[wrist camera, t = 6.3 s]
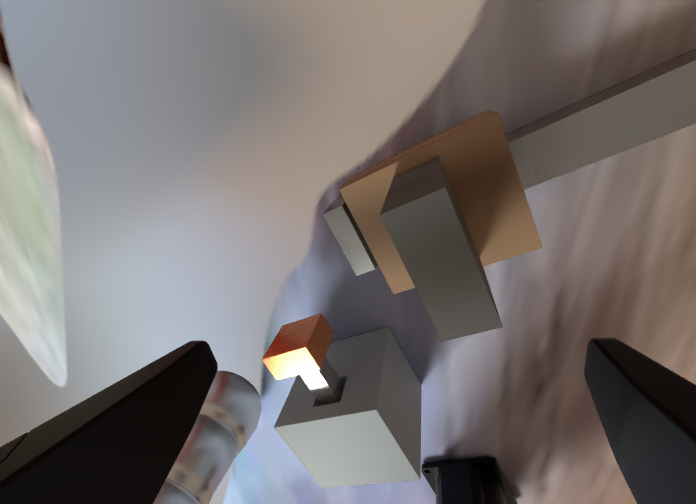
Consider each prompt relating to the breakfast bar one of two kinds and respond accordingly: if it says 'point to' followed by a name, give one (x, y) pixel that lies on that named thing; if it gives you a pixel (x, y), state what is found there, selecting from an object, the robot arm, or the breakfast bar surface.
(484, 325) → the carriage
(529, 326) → the breakfast bar surface
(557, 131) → the rail
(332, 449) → the block
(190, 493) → the plastic bottle
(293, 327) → the plunger
